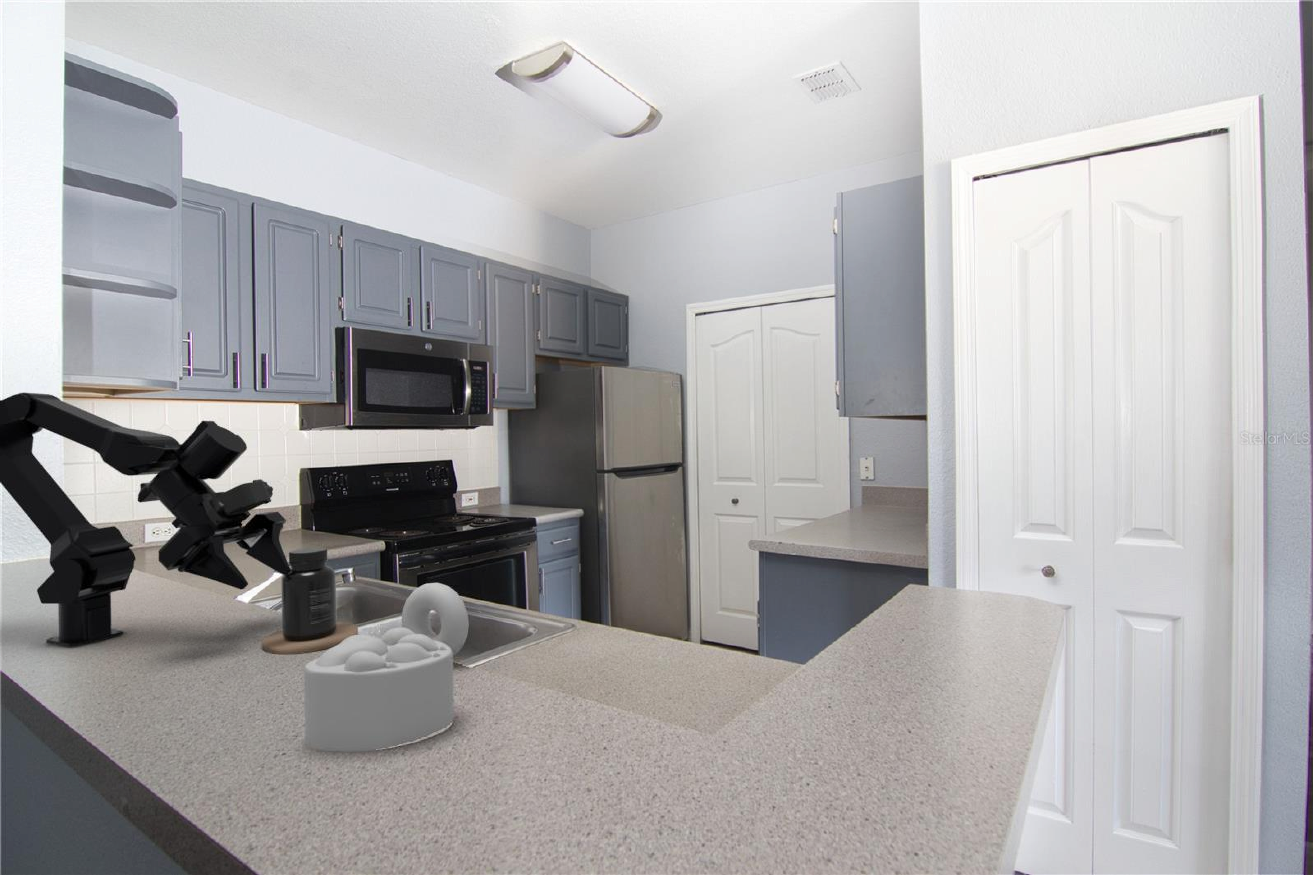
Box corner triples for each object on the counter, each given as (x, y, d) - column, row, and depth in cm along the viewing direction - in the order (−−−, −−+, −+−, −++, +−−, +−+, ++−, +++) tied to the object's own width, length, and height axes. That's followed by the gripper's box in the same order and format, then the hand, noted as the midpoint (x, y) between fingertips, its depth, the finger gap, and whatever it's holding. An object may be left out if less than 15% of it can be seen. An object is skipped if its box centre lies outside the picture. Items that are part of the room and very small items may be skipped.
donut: (475, 662, 81) (474, 583, 81) (456, 671, 78) (454, 589, 78) (416, 652, 85) (415, 577, 85) (395, 660, 82) (394, 582, 82)
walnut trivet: (241, 648, 88) (241, 642, 88) (317, 624, 99) (317, 619, 99) (304, 658, 83) (304, 652, 83) (376, 632, 94) (376, 626, 94)
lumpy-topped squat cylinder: (348, 704, 68) (347, 624, 68) (468, 704, 68) (467, 623, 68) (290, 752, 58) (289, 657, 58) (432, 751, 58) (431, 656, 58)
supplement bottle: (338, 625, 95) (337, 544, 95) (335, 638, 89) (334, 552, 89) (285, 631, 92) (284, 548, 92) (278, 645, 86) (277, 556, 86)
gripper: (179, 465, 82) (262, 551, 82) (273, 460, 101) (341, 530, 100) (121, 526, 83) (203, 612, 82) (226, 510, 101) (293, 580, 101)
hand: (267, 579), depth 91 cm, fingers open, 9 cm apart
